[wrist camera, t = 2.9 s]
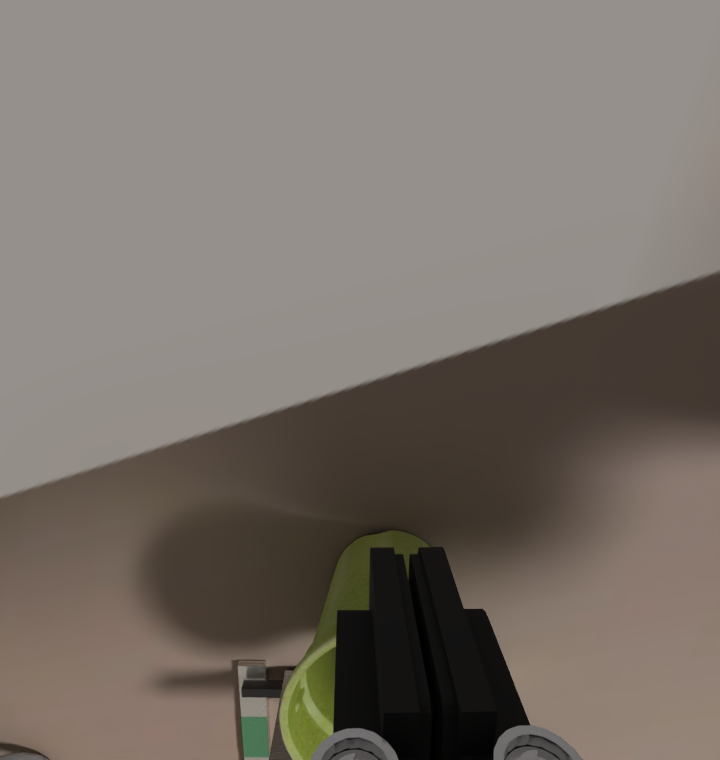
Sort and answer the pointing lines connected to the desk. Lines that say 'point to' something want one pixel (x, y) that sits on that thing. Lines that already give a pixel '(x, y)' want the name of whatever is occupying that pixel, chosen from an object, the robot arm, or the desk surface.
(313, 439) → the desk surface
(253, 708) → the grey slotted box
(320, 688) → the plant pot
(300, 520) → the desk surface
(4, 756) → the ceramic mug
